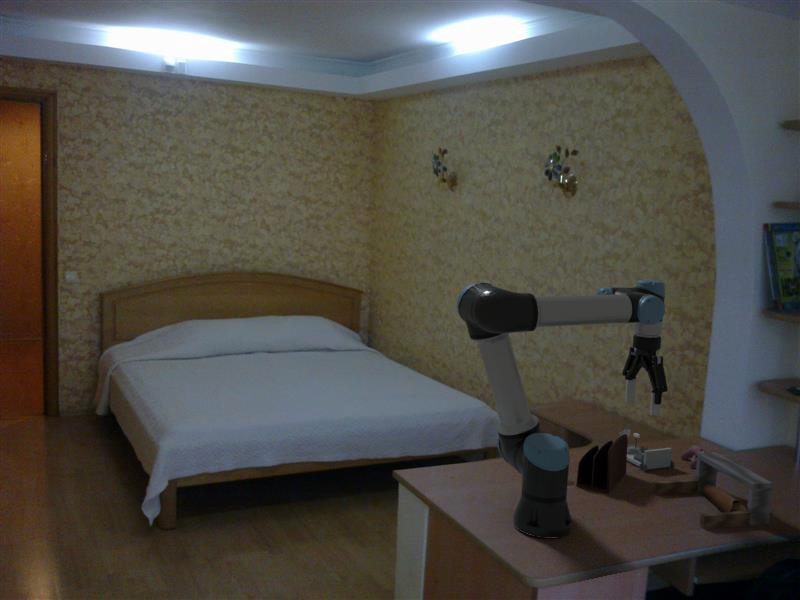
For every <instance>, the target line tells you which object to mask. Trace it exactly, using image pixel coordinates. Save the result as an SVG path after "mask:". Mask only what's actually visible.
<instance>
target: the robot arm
mask: <svg viewBox="0 0 800 600" xmlns="http://www.w3.org/2000/svg"><path fill="white" fill-rule="evenodd" d="M665 287H666V284H665V282H663V281H662V280H656V279H639V280H638V281H637V282H636V285H635V286H634V287H612V286H609V287H601V288H599V289H598V290H597V292H596V294H589V295H558V296H557V295H556V296H536V295H535V294H534V293H532V292H527V293H525V292H523V293H522V292H516V291H511V290H507V289H505V288H501V287H497V286H495V285H493V284H491V283H488V282H473V283H471V284H469V285H467V286H466V287H464V288H463V289H462V290H461V292H460V294H459V296H458V298H457V301H456V309H457V314H458V315H459V317H460V318H461V320H462V321H463V322H465V326H466V328H467V332H468V335H469V338H470V340H471V341H473V342H474V343H477V346H478V350H479V353H480V356H481V359H482V362H483V366H484V370H485V373H486V376H487V381H488V384H489V387H490V390H491V394H492V398H493V402H494V404H495V408H496V411H497V413H498V414H497V415H498V418H499V420H500V421H499V423H498V425H497V427H496V431H497V434H498V435H497V443H496V444H497V449H498V452H499V454H500V455H501V457H502V459H503V460H504V461H505V462H506V464H508V465H509V466H511V467H512V468H513V469H514V470H515V471H517V472H518V473H519V474H521V478H522V480H521V495H520V498H519V501H518V503H517V506H516V508H515V511H514V513H513V520H512V523H513V522H514V525H515V526H516V527H517V528H518V529H519V530H521V531H523V532H525V533H528V534H531V535H534V536H540V537H559V538H562V537H561V536H563V537H566V536H568V535H570V534H571V532H572V526H573V520H572V516H571V512H570V507H569V504H568V501H567V497H568V482H569V465H570V457H571V456H570V447H569V445H568V443H567V442H566V441H565V440H564V439H563V438H561V437H559V436H557V435H555V436H554V435H553V434H551V433H545V432H542V428H541V424H540V421H539V418H538V417H537V416H536V415H534V414H532V412H531V410H530V406H529V402H528V399H527V395H526V391H525V389H524V384H523V381H522V378H521V374H520V370H519V367H518V366H519V365H518V364H517V359H516V357H515V353H514V349H513V345H512V342H511V339H510V336H509V335H510V334H511V333H523V332H526V333H527V332H534V331H536V329H538V328H540V327H541V328H542V327H543V328H544V327H561V326H562V327H565V326H583V325H585V326H586V325H587V326H588V325H606V324H634V325H633V333H634V334H633V336H632V347H631V346H630V348H629V353H628V355H627V358H626V362H625V364H624V367H623V370H622V372H621V375H622V376H624V377H625V380H626V382H625V396H624V403H636V400H635V399H636V391H637V389H636V388H637V375H638V374H639V372H640V371H641V370H642V368H643V369H644V370H645V371H646V372H647V374H648V377H649V380H650V381H649V382H650V384H651V387H652V391H651V392H650V393H651V395H650V405H649V406H650V407H649V415H650V416H661V407H662V406H661V405H662V400H663V399H662V397H663V393H666V392H668V391H669V390H668V384H667V379H666V373H665V367H664V357H663V356H662V355H659V356H658V355H657V352H658V351H659V350H661V347H662V345H661V344H662V337H661V335H662V329H663V318H664V316H665V312H666V307H665V298H666V295H665V294H666V292H665V291H666V288H665ZM514 525H513V526H514ZM519 530H518V531H519ZM567 534H568V535H567ZM565 535H566V536H565ZM534 536H533V537H534Z"/></svg>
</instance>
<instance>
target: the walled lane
mask: <svg viewBox="0 0 800 600" xmlns="http://www.w3.org/2000/svg"><path fill="white" fill-rule="evenodd" d="M718 471H719V472H721V473H723V474H725V475H727V476H728V477H730V478H732V479H733V480H735V481H737V482H739V483H741V484H742V485H744V486H746V487H747V488H748V496H747V497H748V498H747V506H746V507H747V511H734V512H722V511H721V512H712V513H711V512H710V513H700V518H699V519H700V521H699V522H700V523H699V527H700V528H701V529H702V530H706V529H719V528H727V527H728V528H730V527H742V526H743V527H745V526H756V525H768V524H769V523H770V515H771V505H772V504H771V503H772V495H773V486H774V485H773V484H774V483H773V482H772V481H769V480H768V479H767V478H764V477H763V476H761V475H759V474H757V473H755V472H753V471H751V470H750V469H748V468H745V467H744V466H742V465H741V464H738V463H736V462H735V461H733V460H730V459H729V458H727V457H725V456H723V455H721V454H719V453H717V452H716V451H715V452H714V451H713V452H706V453H698V454H697V466H696V468H695V478H690V479H688V478H687V479H676V480H675V479H674V480H658V481H656V480H655V481H653V482H652V494H653V495H654V496H656V495H657V494H661V495H669V494H668V493H676V494H689V493H690V494H691V493H702V489H703V487H705V486H706V485H711V486H715V487H717V486H716V485H717V475H718ZM657 496H658V495H657Z"/></svg>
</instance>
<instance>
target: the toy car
mask: <svg viewBox="0 0 800 600" xmlns="http://www.w3.org/2000/svg"><path fill="white" fill-rule="evenodd" d="M624 434H626V435H627V437H628V439H627V461H628V462H629V463H631V464H633V465H635V466H637V467H639V468H638V469H639V471H641V472H643V473H646V472H647V471H648V470H654V469H660V468H662V469H663V468H668V467H670V468H673V469H675V462H674V460H672V451H673V449H672V447H665V448H655V449H648V447H645V446H641V447H640V448H639V447H638V446H637V444H638V442H637V441H638V439H639V438H640V437H641V436H640V435H641V434H639V433H636V432H635V433H634V432H633V433H632V435H633V437H635V444H634V446H628V444H629V443H628V442H629V438H630V435H631V429H630V428H626V429H625V428H624V427H622V430H621V431H619V432H618V435H620V436H619V437H621V436H622V435H624ZM670 468H669V469H670Z"/></svg>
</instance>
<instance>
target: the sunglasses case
mask: <svg viewBox="0 0 800 600" xmlns="http://www.w3.org/2000/svg"><path fill="white" fill-rule="evenodd" d="M701 494H702V496H703V497H705V498H707V499H708V500H709V501H711V503H712V504H714V506H716V507H717V508H718V509H719V510H720V511H721V512H734V511H747V508H746V507H747V506H744V505H743V504H742V502H741V500H739V499H738V497H736V496H734V495H733V494H731V493H729V492H727V491H726V490H724V489H722V488H719V487H717V486H716V487H715V486H711V485H706V486H705V487H703V489H702V492H701Z"/></svg>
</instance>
